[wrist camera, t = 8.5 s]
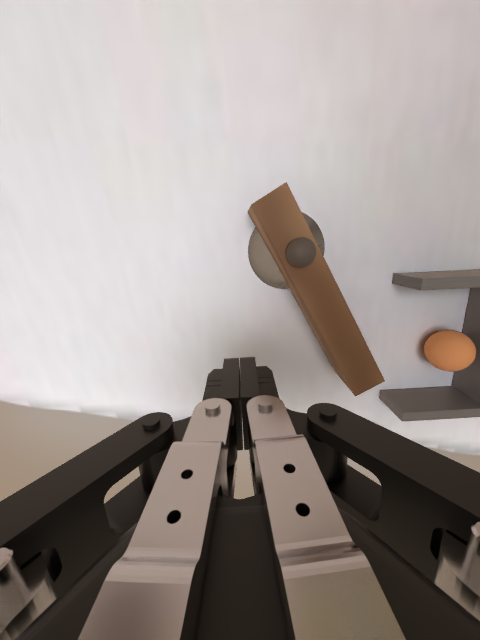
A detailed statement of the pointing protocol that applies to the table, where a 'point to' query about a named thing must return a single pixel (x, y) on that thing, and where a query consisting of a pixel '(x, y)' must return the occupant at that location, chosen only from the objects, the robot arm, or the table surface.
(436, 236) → the table surface
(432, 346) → the ball
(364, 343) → the lever
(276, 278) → the pin plate
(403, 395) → the pocket
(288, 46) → the table surface
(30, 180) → the table surface
